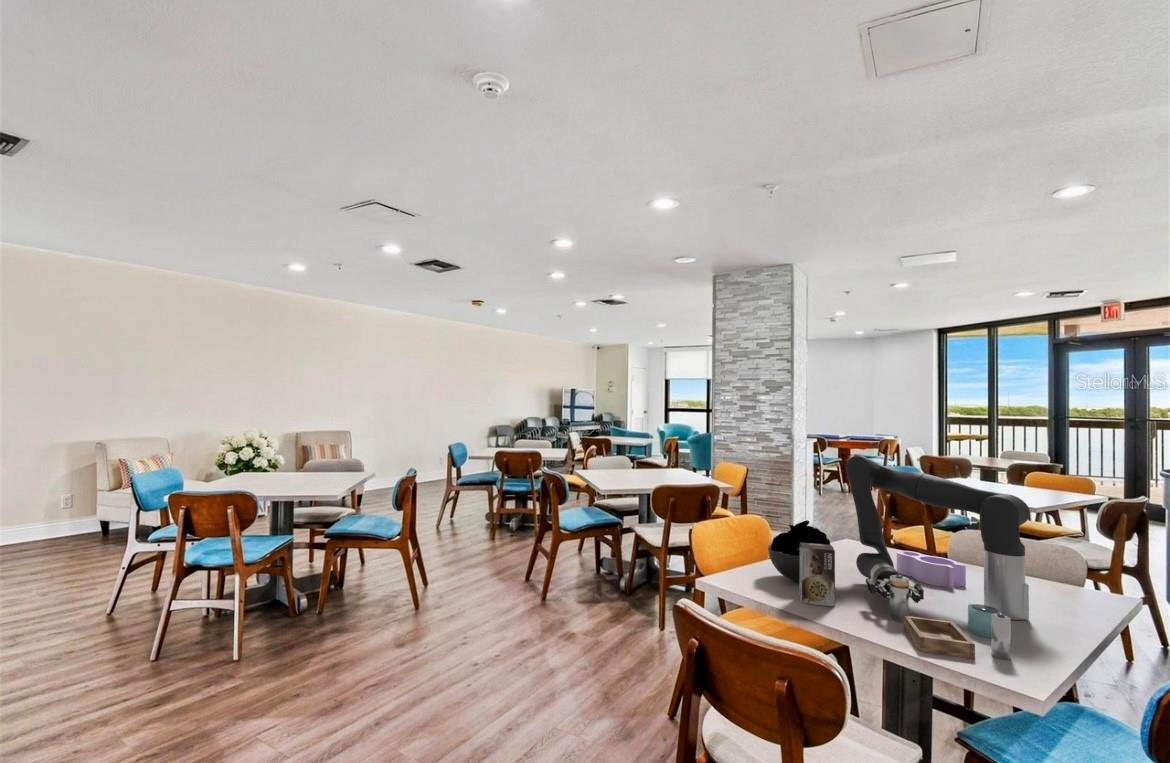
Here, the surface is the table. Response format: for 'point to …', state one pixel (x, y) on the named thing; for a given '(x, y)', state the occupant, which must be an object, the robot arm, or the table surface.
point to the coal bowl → (793, 548)
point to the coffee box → (817, 574)
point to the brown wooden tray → (939, 637)
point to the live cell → (899, 597)
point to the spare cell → (1001, 636)
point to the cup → (980, 619)
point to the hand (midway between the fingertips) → (901, 597)
